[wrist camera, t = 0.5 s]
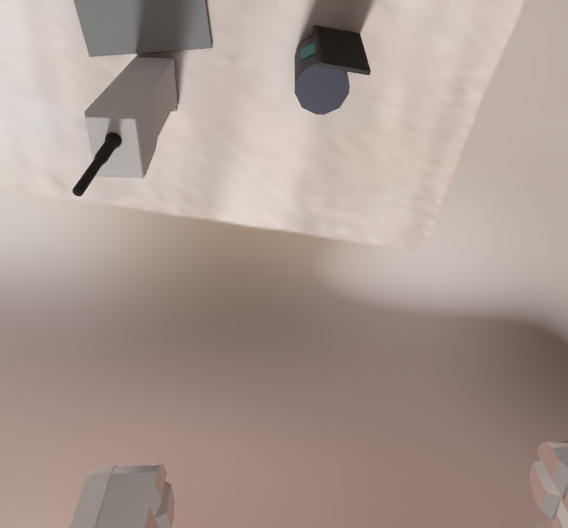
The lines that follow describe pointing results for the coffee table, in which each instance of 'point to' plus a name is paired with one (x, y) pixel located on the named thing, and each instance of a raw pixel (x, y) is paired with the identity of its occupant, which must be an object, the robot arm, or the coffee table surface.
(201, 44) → the mat
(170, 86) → the vintage mobile phone
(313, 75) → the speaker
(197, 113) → the coffee table surface
